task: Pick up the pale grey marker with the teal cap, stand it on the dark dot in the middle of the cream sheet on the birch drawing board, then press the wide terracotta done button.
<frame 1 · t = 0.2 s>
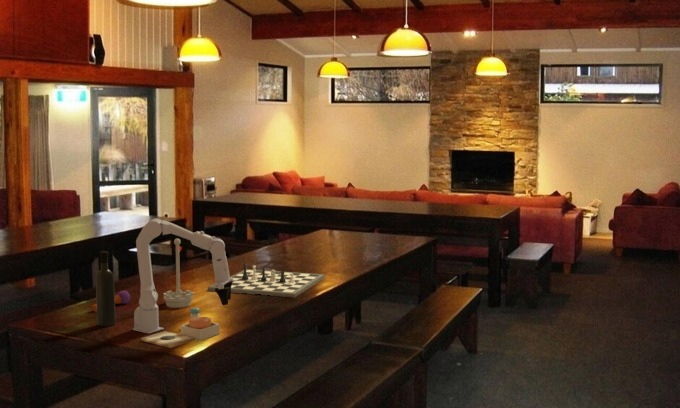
hand: (226, 302, 294), 10 cm above the table, tool pointing down, fingers open, 7 cm apart
wine bottle: (106, 325, 299), on the table
marker: (195, 325, 298), on the table
drawing board: (167, 340, 278), on the table
button housing: (200, 334, 285), on the table
done button: (200, 324, 285), point 4 cm above the table, slide at 0.0 cm
flag stand: (178, 304, 332), on the table
chess set: (268, 285, 373), on the table
kendama: (111, 307, 328), on the table
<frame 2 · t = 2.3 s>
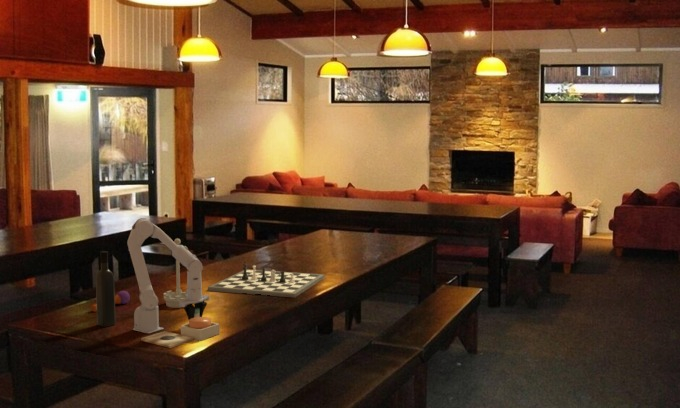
hand: (195, 321, 298), 2 cm above the table, tool pointing down, fingers closed on marker, 4 cm apart
marker: (195, 325, 298), on the table, touching gripper
everything else where it was.
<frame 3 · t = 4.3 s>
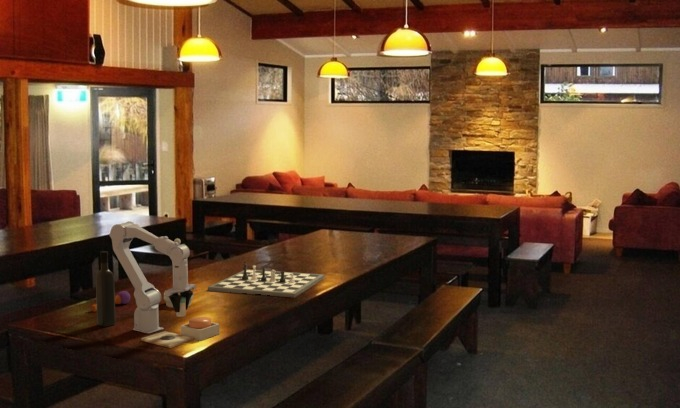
hand: (180, 310, 287), 9 cm above the table, tool pointing down, fingers closed on marker, 4 cm apart
marker: (181, 315, 287), point 7 cm above the table, touching gripper
everything else where it was.
when the fingers open (4 cm above the table, at t = 6.3 s): marker stays where it is, resting on drawing board.
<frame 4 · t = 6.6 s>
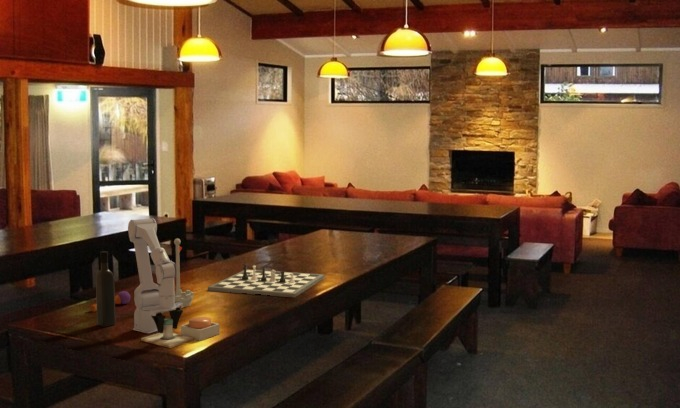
hand: (167, 330, 278), 4 cm above the table, tool pointing down, fingers open, 6 cm apart
marker: (168, 337, 278), point 1 cm above the table, touching drawing board
everything else where it was.
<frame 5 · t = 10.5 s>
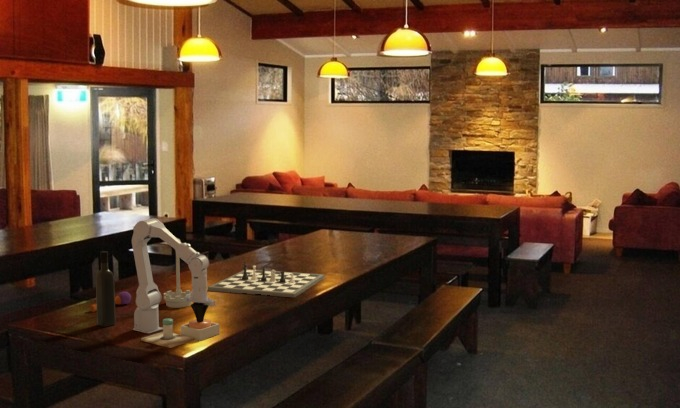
hand: (200, 321, 285), 5 cm above the table, tool pointing down, fingers closed, pressing on done button
done button: (200, 326, 285), point 4 cm above the table, slide at 0.7 cm, touching gripper
everything else where it was.
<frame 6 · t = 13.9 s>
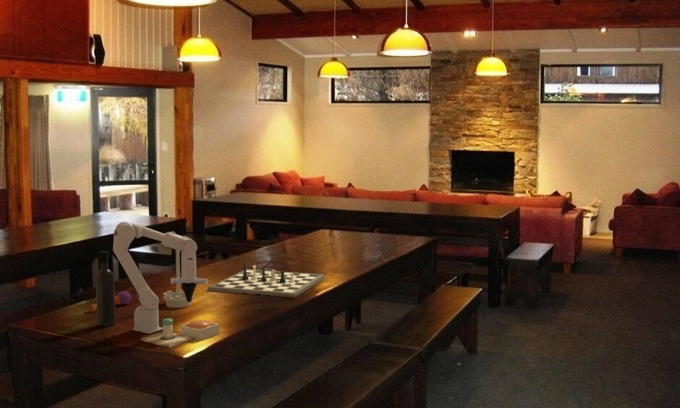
hand: (189, 301, 297), 10 cm above the table, tool pointing down, fingers closed
done button: (200, 327, 285), point 3 cm above the table, slide at 1.2 cm
at the end: marker inside the target area on the drawing board (0.1 cm from its centre), point 0.9 cm above the drawing board's base; marker tilted 0°; done button slide at 1.2 cm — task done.
